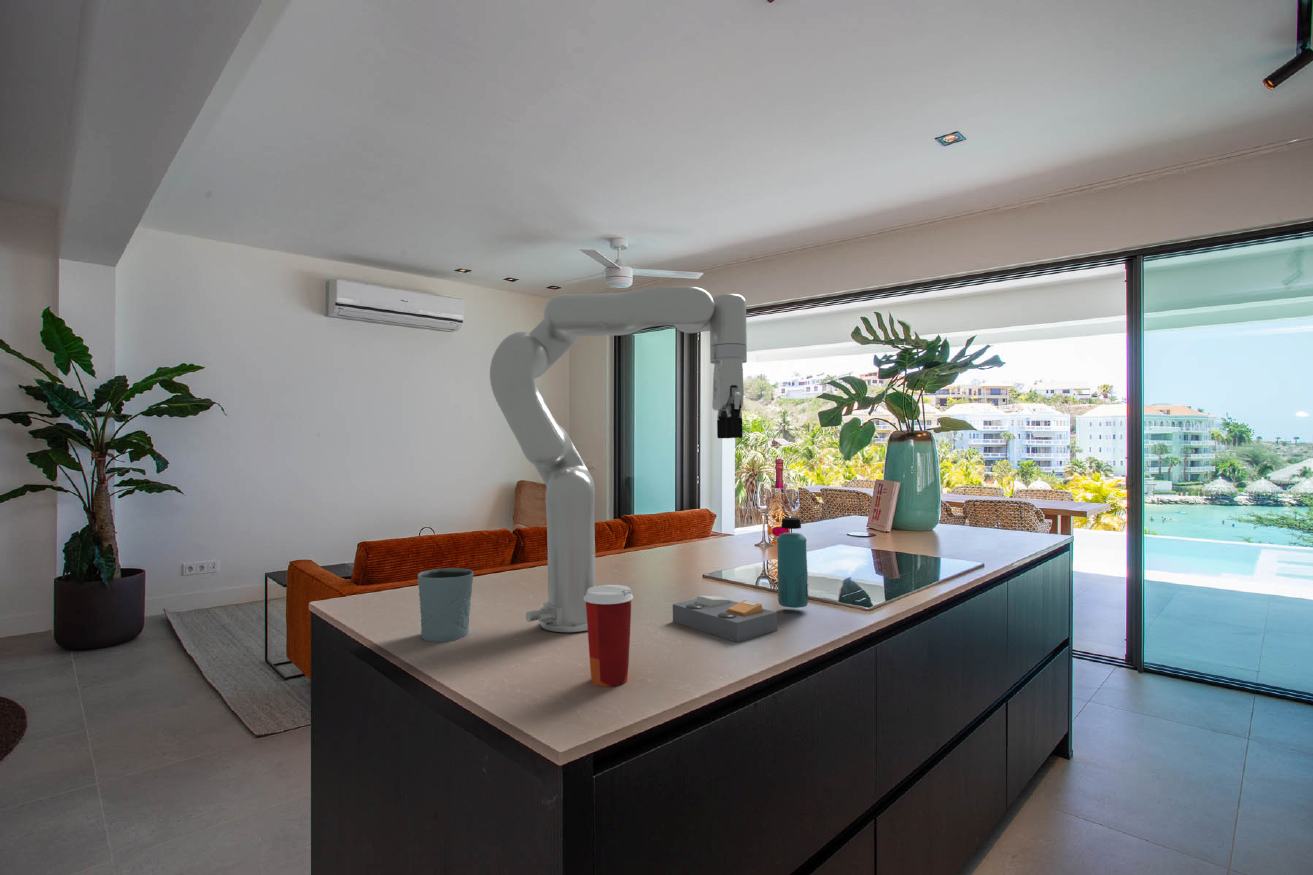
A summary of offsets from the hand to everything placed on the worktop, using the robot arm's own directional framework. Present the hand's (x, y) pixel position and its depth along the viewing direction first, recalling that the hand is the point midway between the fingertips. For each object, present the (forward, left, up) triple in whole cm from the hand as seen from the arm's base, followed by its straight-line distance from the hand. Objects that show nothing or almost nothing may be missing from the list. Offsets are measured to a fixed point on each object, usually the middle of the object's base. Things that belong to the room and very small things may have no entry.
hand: (729, 438), depth 133 cm
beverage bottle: (+14, -5, -38) cm, 40 cm away
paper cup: (-39, -12, -38) cm, 55 cm away
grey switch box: (-5, -3, -37) cm, 38 cm away
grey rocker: (-3, +2, -34) cm, 34 cm away
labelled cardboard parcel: (-3, -7, -34) cm, 35 cm away
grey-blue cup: (-49, +28, -38) cm, 68 cm away
